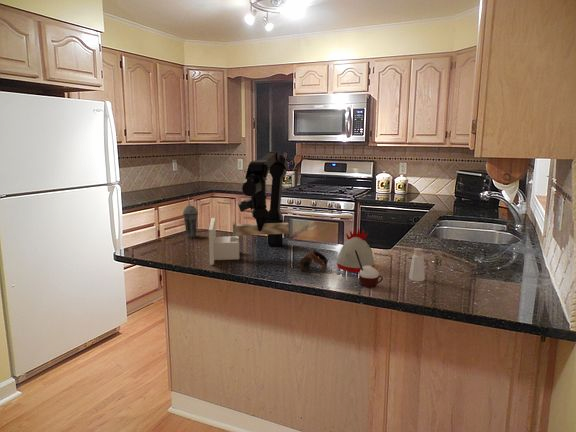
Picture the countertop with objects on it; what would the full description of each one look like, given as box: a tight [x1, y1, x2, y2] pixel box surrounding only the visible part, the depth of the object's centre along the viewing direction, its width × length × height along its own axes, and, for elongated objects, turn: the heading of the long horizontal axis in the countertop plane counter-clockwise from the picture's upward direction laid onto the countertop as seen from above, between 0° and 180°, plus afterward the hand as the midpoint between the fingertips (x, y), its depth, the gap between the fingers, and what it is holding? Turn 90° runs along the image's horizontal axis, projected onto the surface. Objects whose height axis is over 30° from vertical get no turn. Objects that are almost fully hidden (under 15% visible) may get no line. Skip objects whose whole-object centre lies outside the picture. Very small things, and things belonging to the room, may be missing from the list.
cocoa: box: [355, 250, 383, 288], centre depth 139 cm, size 10×6×12 cm, turn 68°
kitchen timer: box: [336, 228, 375, 273], centre depth 160 cm, size 14×14×15 cm
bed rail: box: [232, 220, 290, 237], centre depth 172 cm, size 23×6×5 cm, turn 98°
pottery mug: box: [299, 250, 329, 273], centre depth 155 cm, size 12×10×8 cm
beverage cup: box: [182, 196, 199, 238], centre depth 208 cm, size 7×7×20 cm
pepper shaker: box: [408, 247, 426, 283], centre depth 146 cm, size 5×5×11 cm
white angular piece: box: [208, 217, 240, 266], centre depth 174 cm, size 12×24×14 cm, turn 8°
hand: (259, 230), depth 172 cm, fingers closed on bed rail, 3 cm apart
